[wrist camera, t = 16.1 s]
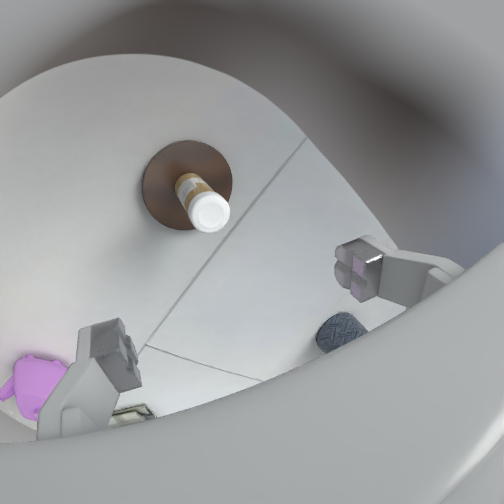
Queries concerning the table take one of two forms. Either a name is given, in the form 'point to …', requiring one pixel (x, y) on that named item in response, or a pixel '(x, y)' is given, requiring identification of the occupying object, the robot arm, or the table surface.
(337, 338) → the vase
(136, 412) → the dish towel
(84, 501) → the robot arm
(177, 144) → the disc
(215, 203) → the sprinkles bottle
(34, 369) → the teapot
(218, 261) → the table surface
